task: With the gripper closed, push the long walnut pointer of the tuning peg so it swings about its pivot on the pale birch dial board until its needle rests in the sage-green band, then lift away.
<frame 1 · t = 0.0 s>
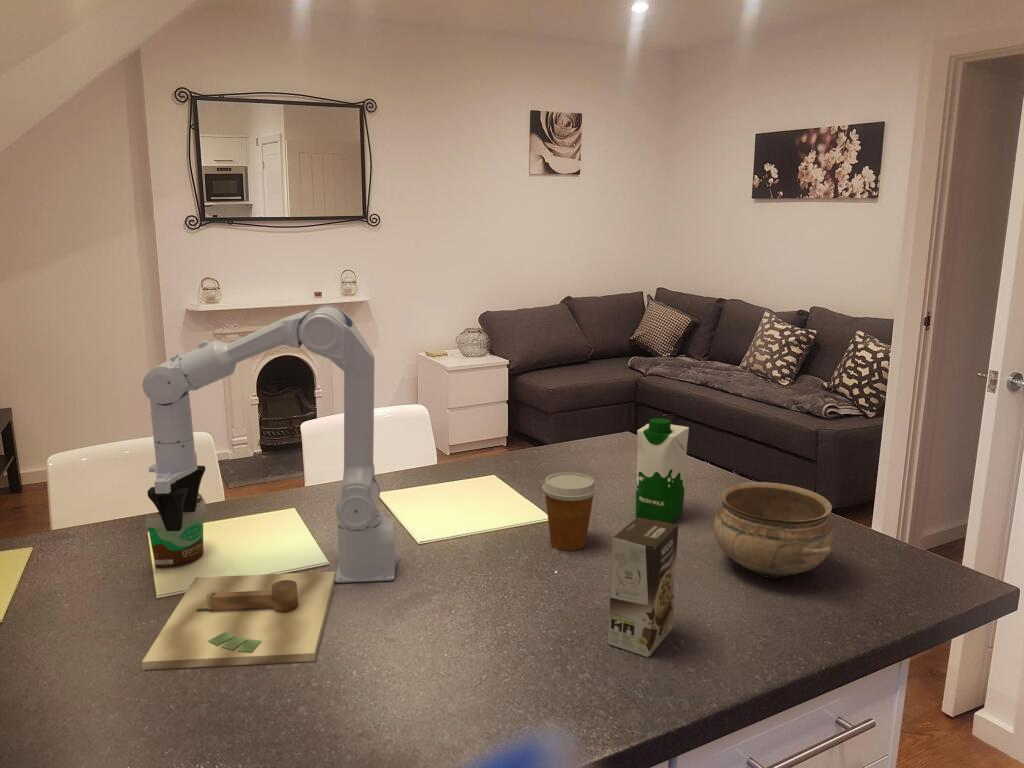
hand: (181, 520, 126), 10 cm above the counter, fingers open, 7 cm apart
cooking pot: (769, 569, 132), on the counter
milk carton: (659, 517, 155), on the counter
food container: (189, 559, 135), on the counter
dial board: (249, 619, 116), on the counter
tuning peg: (252, 597, 116), point 3 cm above the counter, hinge at 0.0°
coffee box: (641, 638, 111), on the counter
disposable coffee cup: (568, 544, 142), on the counter
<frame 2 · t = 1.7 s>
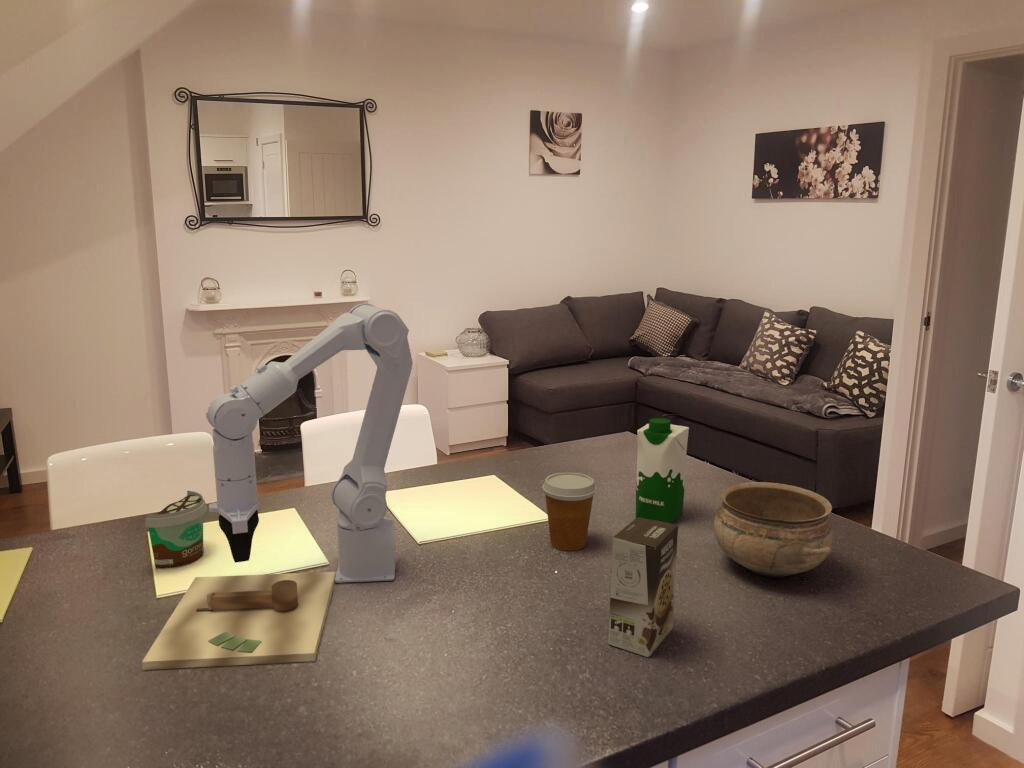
hand: (241, 559, 120), 7 cm above the counter, fingers closed
nothing on the counter moved.
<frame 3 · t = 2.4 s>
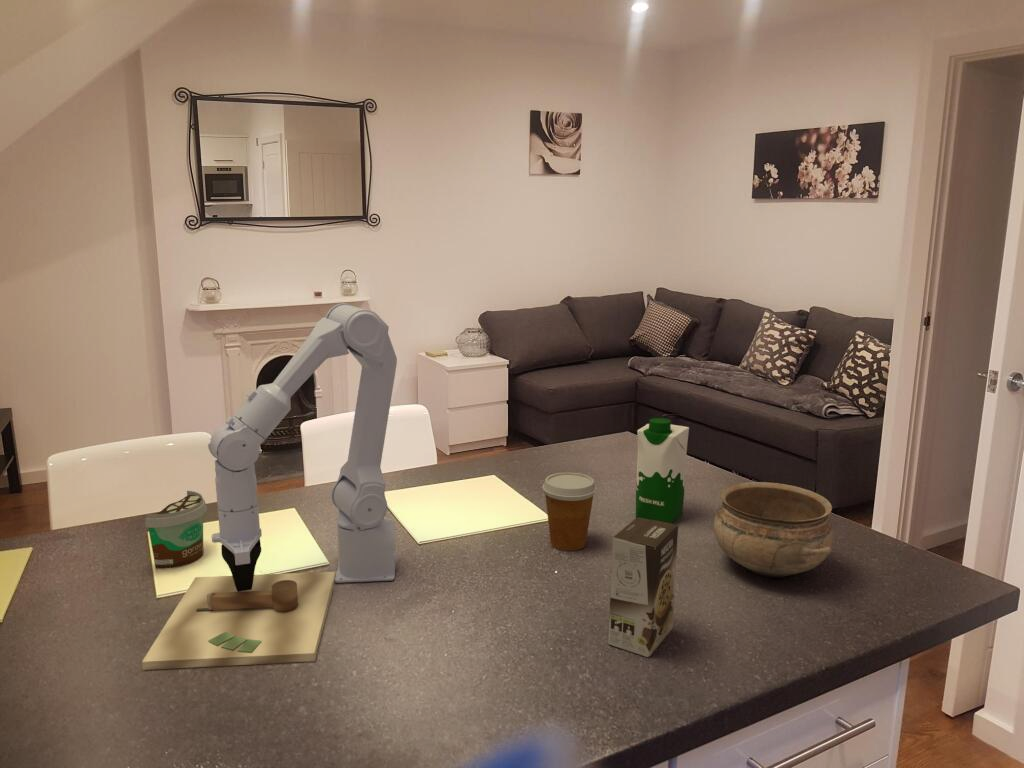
hand: (244, 588, 120), 2 cm above the counter, fingers closed
nothing on the counter moved.
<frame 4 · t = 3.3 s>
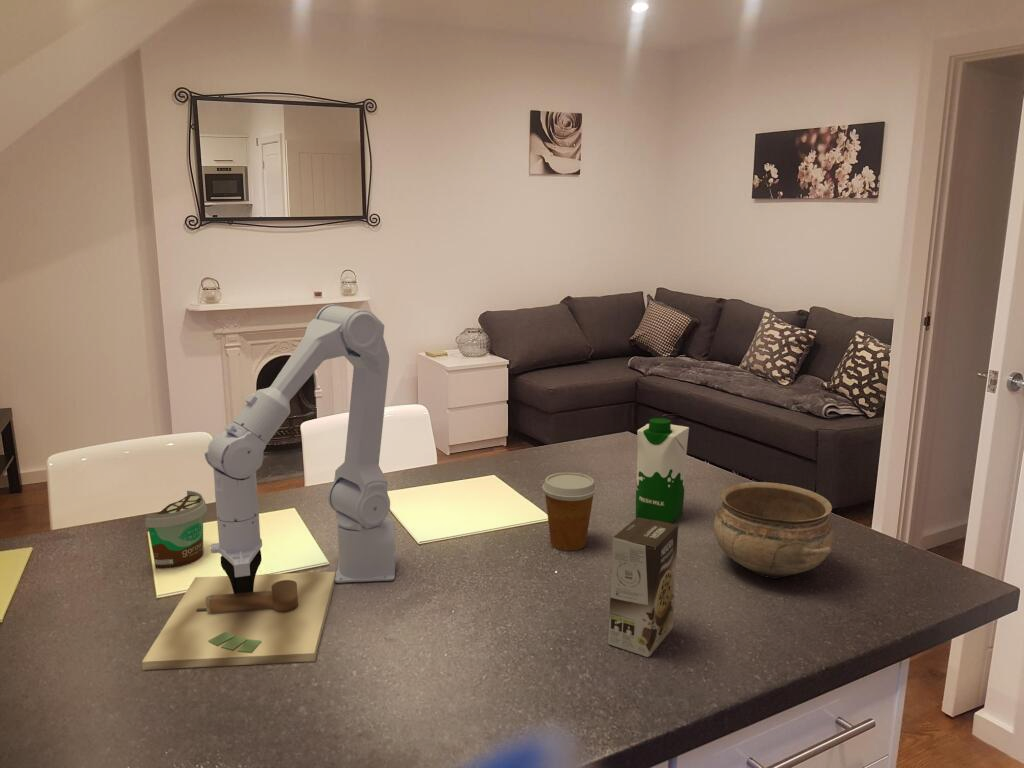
hand: (244, 600, 117), 2 cm above the counter, fingers closed, pressing on tuning peg
tuning peg: (252, 598, 116), point 3 cm above the counter, hinge at 3.9°, touching gripper
everything else where it was.
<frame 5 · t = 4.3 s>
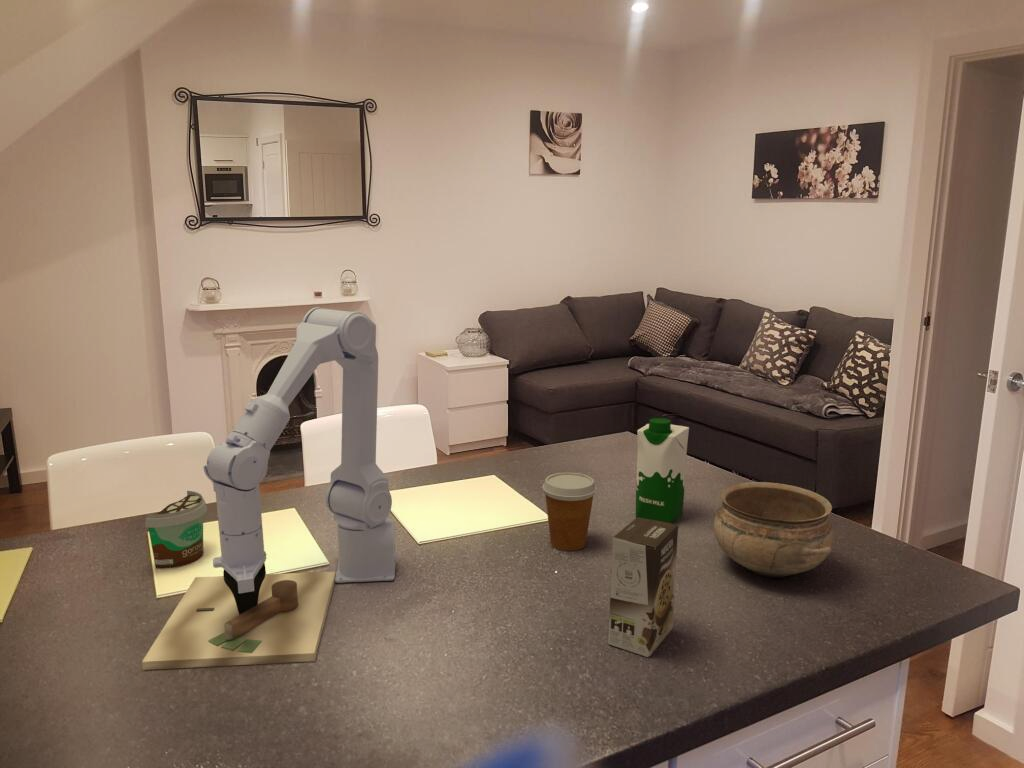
hand: (248, 615, 113), 2 cm above the counter, fingers closed, pressing on tuning peg
tuning peg: (261, 609, 112), point 3 cm above the counter, hinge at 56.0°, touching gripper
everything else where it was.
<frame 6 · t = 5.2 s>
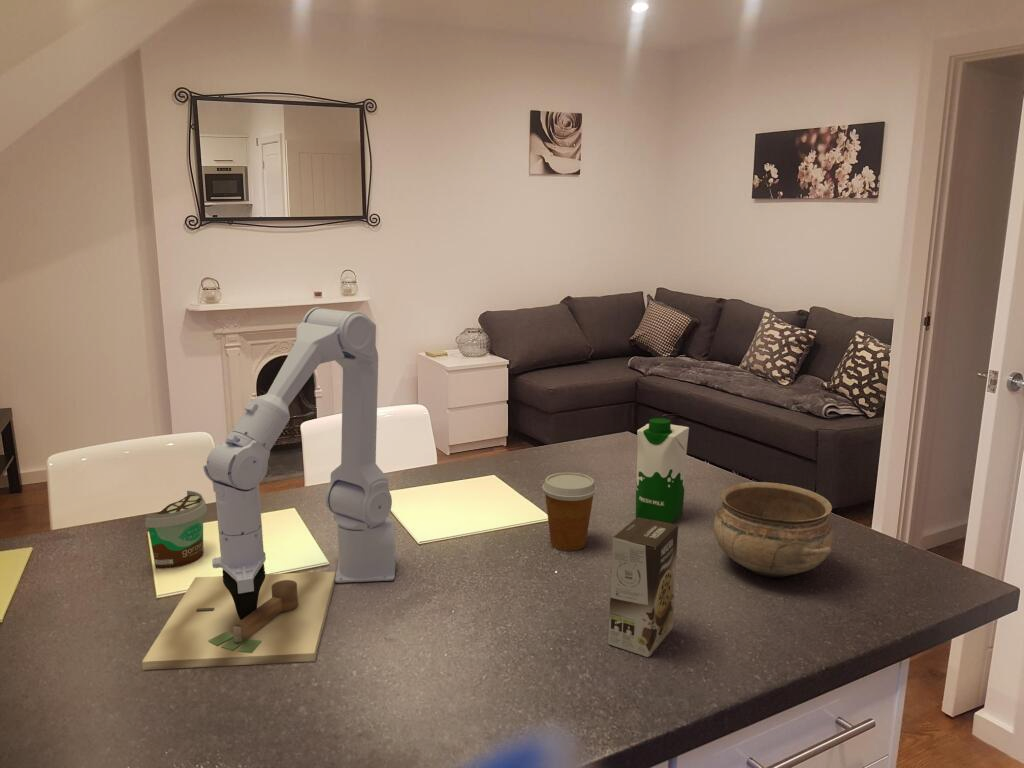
hand: (247, 616, 112), 2 cm above the counter, fingers closed
tuning peg: (265, 610, 112), point 3 cm above the counter, hinge at 64.4°
everything else where it was.
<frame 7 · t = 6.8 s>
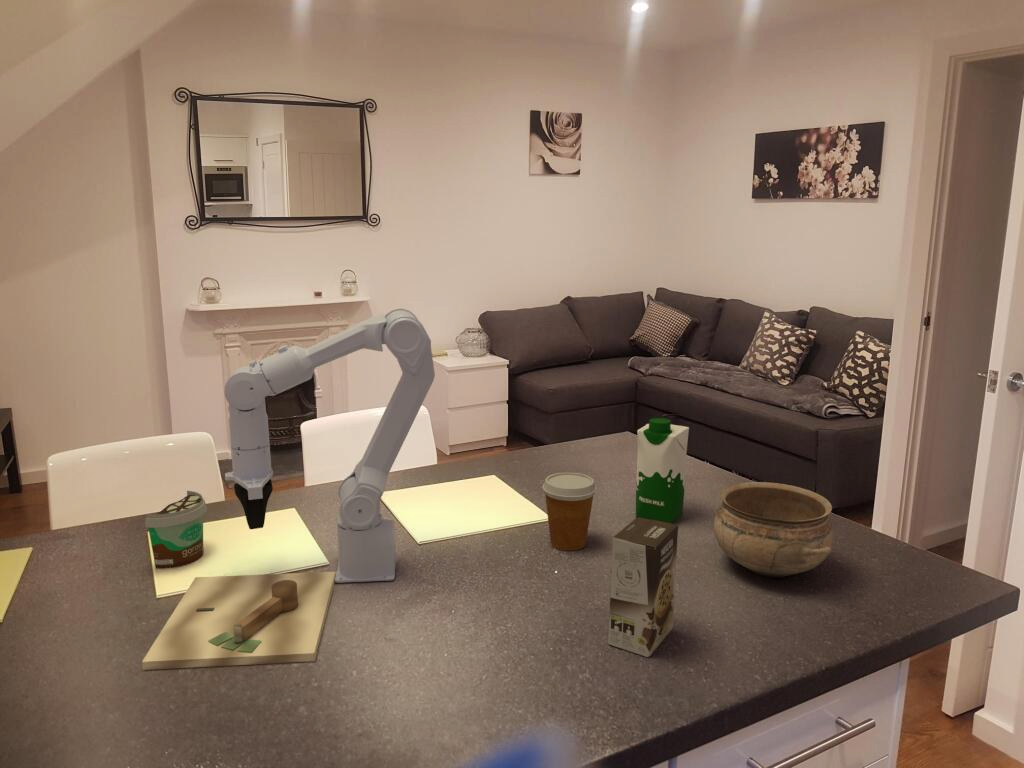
hand: (256, 527, 125), 9 cm above the counter, fingers closed
nothing on the counter moved.
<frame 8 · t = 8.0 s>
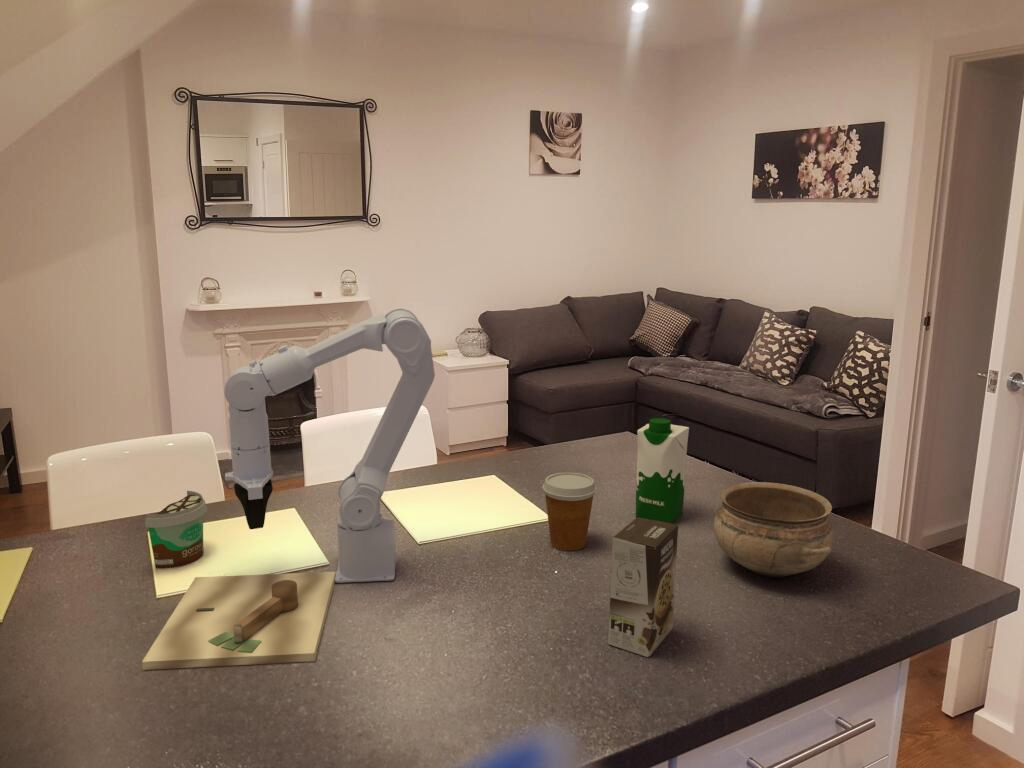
hand: (256, 527, 125), 9 cm above the counter, fingers closed
nothing on the counter moved.
at the end: tuning peg at +64° (first picture: +0°) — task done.
